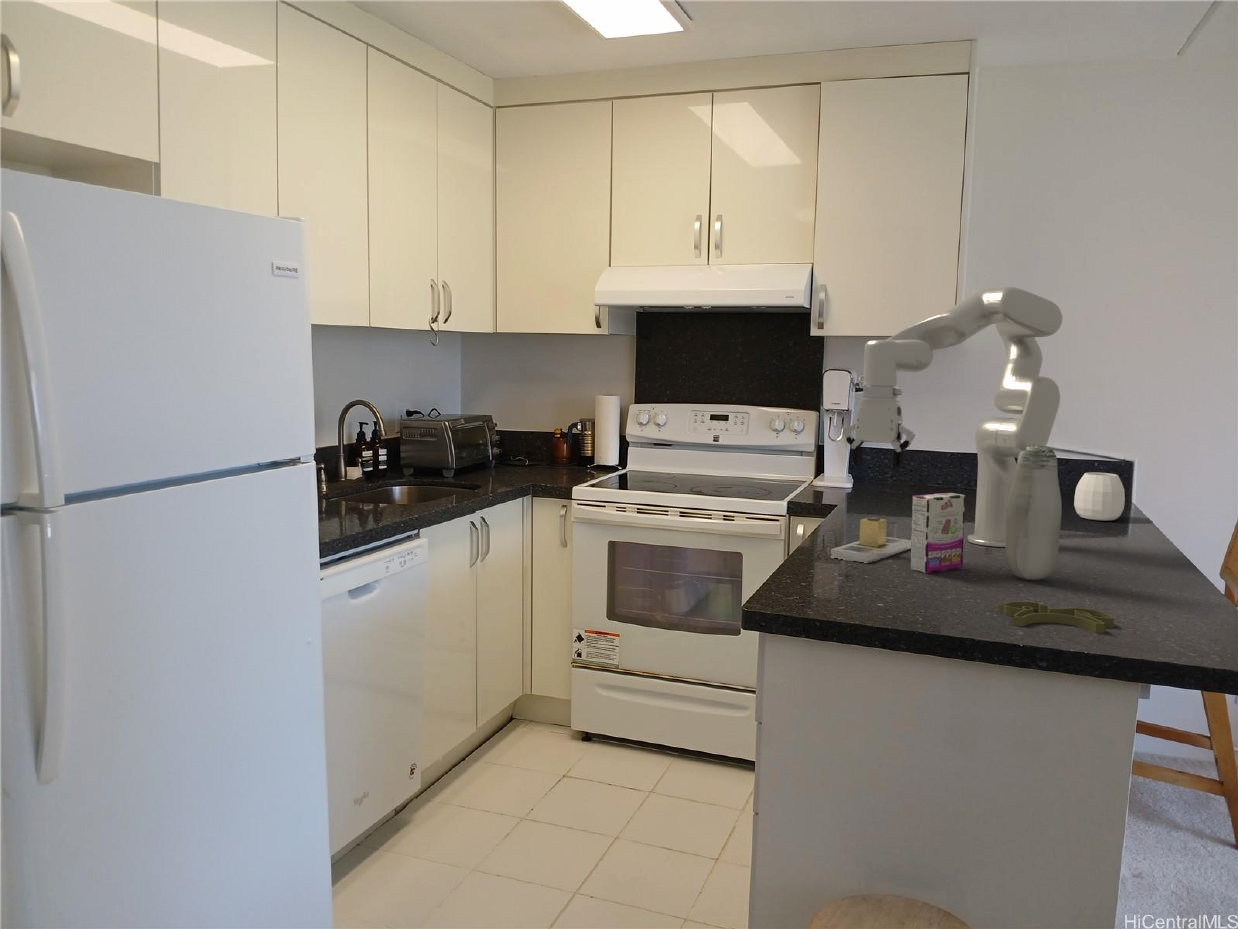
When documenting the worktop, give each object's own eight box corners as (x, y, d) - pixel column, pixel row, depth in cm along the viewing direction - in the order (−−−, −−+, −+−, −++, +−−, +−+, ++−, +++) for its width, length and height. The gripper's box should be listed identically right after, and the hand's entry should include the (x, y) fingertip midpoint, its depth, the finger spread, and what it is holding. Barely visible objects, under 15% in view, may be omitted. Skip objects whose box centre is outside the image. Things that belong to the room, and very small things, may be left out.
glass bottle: (1053, 586, 184) (1062, 448, 181) (999, 580, 189) (1007, 445, 186) (1059, 577, 192) (1068, 445, 189) (1007, 571, 198) (1015, 442, 195)
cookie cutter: (1001, 627, 156) (1001, 615, 156) (995, 609, 167) (996, 599, 167) (1119, 637, 151) (1119, 625, 150) (1104, 619, 162) (1105, 608, 162)
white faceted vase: (1075, 520, 267) (1078, 475, 265) (1071, 514, 279) (1074, 470, 277) (1126, 524, 262) (1129, 477, 260) (1120, 517, 274) (1123, 473, 272)
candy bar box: (945, 565, 203) (949, 492, 202) (963, 569, 199) (967, 494, 197) (908, 569, 198) (911, 494, 196) (925, 574, 194) (929, 497, 192)
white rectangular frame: (910, 548, 222) (911, 540, 221) (867, 563, 203) (867, 554, 203) (875, 543, 227) (876, 535, 227) (830, 557, 209) (830, 549, 209)
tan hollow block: (885, 553, 216) (886, 518, 215) (877, 556, 212) (878, 520, 211) (867, 550, 219) (868, 515, 218) (858, 553, 215) (860, 518, 214)
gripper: (922, 394, 209) (919, 468, 211) (852, 392, 221) (849, 463, 222) (909, 395, 204) (906, 471, 206) (838, 393, 215) (835, 465, 217)
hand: (877, 467), depth 214 cm, fingers open, 9 cm apart
